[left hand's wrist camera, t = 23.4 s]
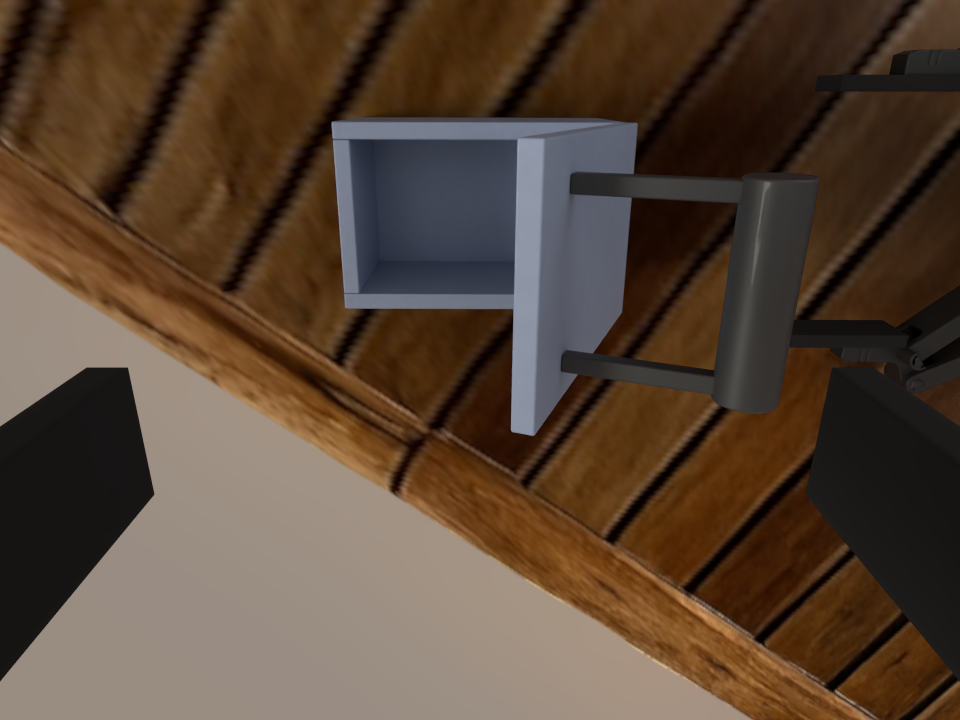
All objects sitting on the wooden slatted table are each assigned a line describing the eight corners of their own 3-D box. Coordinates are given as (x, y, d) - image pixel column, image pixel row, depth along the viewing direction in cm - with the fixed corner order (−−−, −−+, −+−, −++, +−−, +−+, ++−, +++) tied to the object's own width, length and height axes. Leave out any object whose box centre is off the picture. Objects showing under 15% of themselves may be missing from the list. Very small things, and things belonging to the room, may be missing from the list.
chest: (369, 270, 45) (345, 308, 36) (360, 117, 41) (331, 121, 33) (588, 271, 45) (612, 309, 36) (598, 117, 41) (626, 122, 33)
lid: (510, 432, 23) (773, 482, 20) (516, 137, 19) (836, 144, 16) (605, 311, 36) (772, 330, 33) (620, 122, 33) (808, 125, 30)
